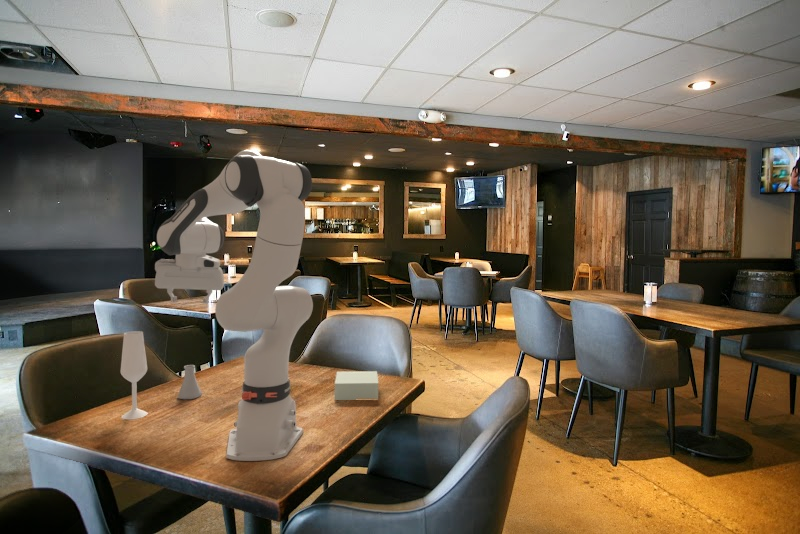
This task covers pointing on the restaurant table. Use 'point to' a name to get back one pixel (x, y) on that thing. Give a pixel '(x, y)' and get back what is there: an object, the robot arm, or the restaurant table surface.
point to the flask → (189, 385)
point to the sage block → (356, 385)
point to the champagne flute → (133, 368)
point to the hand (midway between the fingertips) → (189, 302)
